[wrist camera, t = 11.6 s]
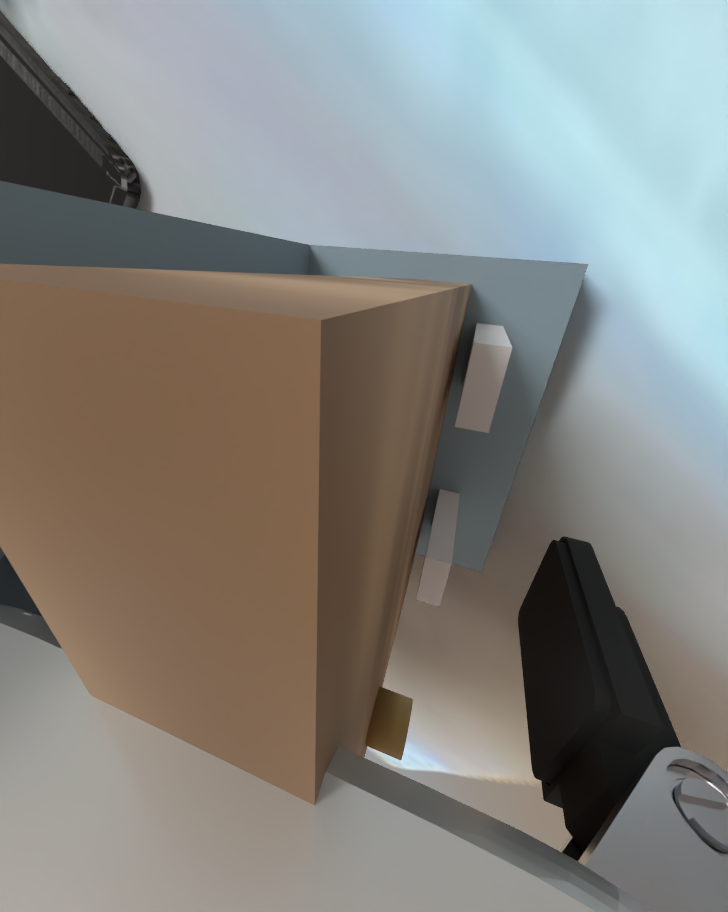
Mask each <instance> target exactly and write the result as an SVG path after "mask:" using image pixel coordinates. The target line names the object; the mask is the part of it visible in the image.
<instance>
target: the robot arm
mask: <svg viewBox="0 0 728 912" xmlns="http://www.w3.org/2000/svg"><path fill="white" fill-rule="evenodd" d="M518 626H519V636H520V647H521V657H522V668H523V679H524V689H525V700H526V711H527V721H528V732H529V743H530V753H531V764H532V771H533V774H534V776H535V778H536V779H539V780H541V781H542V790H543V799H544V801H546V802H549V803H551V804H554V805H556V806H558V807H561V808H563V812H564V819H565V826H566V828H567V830H568V831H569V833H570V835H569V836H568V838H567V839H566V841H565V842H564V843H563V845H562V846H561V848H560V849H559V850H556V849H554V848H552V847H550V846H548V845H546V844H545V843H543V842H541V841H539V840H537V839H535V838H533V837H531V836H529V835H528V834H526V833H524V832H522V831H520V830H518V829H515V828H514V827H512V826H510V825H508V824H505V823H503V822H501V821H499V820H497V819H495V818H493V817H490V816H489V815H486V814H484V813H482V812H480V811H478V810H476V809H474V808H472V807H470V806H467V805H465V804H463V803H461V802H458V801H457V800H455V799H453V798H451V797H448V796H446V795H444V794H442V793H440V792H438V791H436V790H434V789H431V788H429V787H427V786H425V785H423V784H421V783H418V782H416V781H414V780H412V779H410V778H407V777H405V776H403V775H400V774H399V773H396V772H394V771H392V770H390V769H387V768H385V767H383V766H381V765H379V764H376V763H374V762H372V761H370V760H368V759H365V758H363V757H361V756H359V755H357V754H354V753H352V752H350V751H348V750H345V749H343V748H341V747H339V746H338V748H337V750H336V751H335V753H334V755H333V757H332V759H331V762H330V764H329V766H328V768H327V770H326V772H325V775H324V778H323V781H322V785H321V788H320V791H319V794H318V797H317V800H316V803H315V805H313V804H311V803H309V802H306V801H304V800H302V799H300V798H298V797H296V796H294V795H292V794H290V793H288V792H286V791H284V790H282V789H280V788H278V787H276V786H274V785H272V784H270V783H268V782H266V781H264V780H262V779H260V778H258V777H256V776H254V775H252V774H250V773H248V772H246V771H244V770H242V769H240V768H238V767H236V766H234V765H232V764H230V763H228V762H226V761H223V760H221V759H219V758H217V757H215V756H213V755H211V754H209V753H207V752H205V751H203V750H201V749H199V748H197V747H195V746H193V745H191V744H189V743H187V742H185V741H183V740H181V739H179V738H177V737H175V736H173V735H171V734H169V733H167V732H164V731H162V730H160V729H158V728H156V727H154V726H152V725H150V724H148V723H146V722H144V721H142V720H140V719H138V718H136V717H134V716H132V715H130V714H128V713H126V712H124V711H122V710H120V709H118V708H115V707H113V706H111V705H109V704H107V703H105V702H103V701H101V700H99V699H97V698H95V697H93V696H91V695H90V694H89V692H88V690H87V689H86V687H85V685H84V684H83V682H82V680H81V679H80V677H79V675H78V674H77V672H76V670H75V669H74V667H73V665H72V664H71V662H70V661H69V659H68V657H67V656H66V654H65V652H64V651H63V649H62V647H61V646H60V644H59V642H58V641H57V639H56V637H55V636H54V634H53V632H52V631H51V629H50V628H49V626H48V624H47V623H46V621H45V619H44V618H43V616H42V614H41V613H40V611H39V609H38V608H37V606H36V604H35V603H34V601H33V599H32V598H31V596H30V595H29V593H28V591H27V590H26V588H25V586H24V585H23V583H22V581H21V580H20V578H19V576H18V575H17V573H16V571H15V570H14V568H13V566H12V565H11V563H10V562H9V560H8V558H7V557H6V555H4V556H3V557H2V558H1V560H0V912H728V773H727V772H726V771H724V770H723V769H722V768H720V767H719V766H718V765H716V764H715V763H714V762H712V761H711V760H709V759H707V758H705V757H704V756H702V755H700V754H698V753H696V752H694V751H691V750H688V749H684V748H681V746H680V743H679V741H678V738H677V736H676V734H675V731H674V729H673V726H672V724H671V722H670V719H669V717H668V714H667V712H666V710H665V707H664V705H663V702H662V700H661V698H660V695H659V693H658V690H657V688H656V686H655V683H654V681H653V678H652V676H651V674H650V671H649V669H648V666H647V664H646V662H645V659H644V657H643V655H642V652H641V650H640V647H639V645H638V643H637V640H636V638H635V635H634V633H633V631H632V628H631V626H630V623H629V621H628V619H627V617H626V615H625V613H624V611H623V610H622V609H620V608H619V607H616V606H615V603H614V601H613V598H612V596H611V593H610V591H609V588H608V586H607V583H606V581H605V578H604V576H603V573H602V571H601V568H600V565H599V563H598V560H597V558H596V555H595V553H594V550H593V548H592V546H591V544H590V543H588V542H584V541H580V540H576V539H572V538H568V537H562V538H561V539H560V540H559V541H556V540H553V541H552V542H551V543H550V545H549V547H548V549H547V552H546V554H545V556H544V558H543V560H542V562H541V565H540V567H539V569H538V571H537V573H536V575H535V577H534V580H533V582H532V584H531V586H530V588H529V590H528V593H527V595H526V597H525V599H524V601H523V603H522V606H521V608H520V611H519V616H518Z"/></svg>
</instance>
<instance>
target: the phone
mask: <svg viewBox="0 0 728 912" xmlns="http://www.w3.org/2000/svg"><path fill="white" fill-rule="evenodd" d="M0 181H4V182H9V183H14V184H19V185H23V186H28V187H33V188H38V189H43V190H47V191H52V192H57V193H62V194H67V195H71V196H76V197H81V198H86V199H91V200H95V201H100V202H105V203H110V204H115V205H119V206H124V207H129V208H134V209H136V207H137V204H138V201H139V198H140V193H141V190H140V180H139V176H138V173H137V171H136V168H135V166H134V164H133V163H132V161H131V160H130V159H129V157H128V156H127V155H126V154H125V153H124V152H123V150H122V149H121V148H120V147H119V146H118V145H117V144H116V142H115V141H114V140H113V139H112V138H111V136H110V135H109V134H108V133H107V132H106V131H105V130H104V129H103V128H102V127H101V125H100V124H99V123H98V122H97V121H96V120H95V119H94V117H93V116H92V114H91V113H90V112H89V111H88V110H87V109H86V108H85V106H84V105H83V104H82V103H81V102H80V101H79V100H78V99H77V98H76V97H75V96H74V95H73V92H72V91H71V90H70V89H69V88H68V87H67V85H66V84H65V83H64V82H63V81H62V80H61V79H60V78H59V77H58V76H57V75H56V74H55V73H54V72H53V71H52V70H51V69H50V67H49V66H48V65H47V64H46V63H45V62H44V61H43V59H42V58H41V57H40V56H39V55H38V54H37V53H36V51H35V50H34V49H33V48H32V47H31V46H30V45H29V44H28V42H27V41H26V40H25V39H24V38H23V37H22V36H21V34H20V33H19V32H18V31H17V30H16V29H15V28H14V26H13V25H12V24H11V23H10V22H9V21H8V20H7V18H6V17H5V16H4V15H3V14H2V13H1V12H0Z"/></svg>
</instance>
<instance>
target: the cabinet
mask: <svg viewBox="0 0 728 912" xmlns="http://www.w3.org/2000/svg"><path fill="white" fill-rule="evenodd" d="M0 264H21V265H49V266H76V267H104V268H131V269H159V270H186V271H213V272H241V273H268V274H296V275H323V276H351V277H378V278H405V279H419V280H430V281H442V282H453V283H464V284H472V285H471V290H470V295H469V300H468V305H467V309H466V314H465V319H464V324H463V329H462V334H461V338H460V343H459V348H458V353H457V358H456V363H455V367H454V372H453V377H452V382H451V387H450V392H449V397H448V401H447V406H446V411H445V416H444V421H443V426H442V430H441V435H440V440H439V445H438V450H437V455H436V459H435V464H434V469H433V474H432V479H431V484H430V488H429V493H428V498H427V503H426V508H425V513H424V517H423V522H422V527H421V532H420V537H419V541H418V545H417V549H416V553H415V554H418V555H422V556H425V560H424V564H423V569H422V574H421V578H420V583H419V588H418V592H417V597H416V600H418V601H421V602H424V603H428V604H431V605H434V606H437V607H440V604H441V601H442V597H443V593H444V590H445V586H446V583H447V579H448V576H449V572H450V568H451V565H452V564H454V565H457V566H461V567H465V568H468V569H472V570H475V571H479V572H482V570H483V567H484V564H485V561H486V558H487V555H488V552H489V549H490V547H491V544H492V541H493V538H494V535H495V532H496V529H497V526H498V523H499V521H500V518H501V515H502V512H503V509H504V506H505V503H506V500H507V497H508V495H509V492H510V489H511V486H512V483H513V480H514V477H515V474H516V471H517V469H518V466H519V463H520V460H521V457H522V454H523V451H524V448H525V445H526V443H527V440H528V437H529V434H530V431H531V428H532V425H533V422H534V419H535V417H536V414H537V411H538V408H539V405H540V402H541V399H542V396H543V393H544V391H545V388H546V385H547V382H548V379H549V376H550V373H551V370H552V367H553V365H554V362H555V359H556V356H557V353H558V350H559V347H560V344H561V341H562V339H563V336H564V333H565V330H566V327H567V324H568V321H569V318H570V315H571V313H572V310H573V307H574V304H575V301H576V298H577V295H578V292H579V289H580V287H581V284H582V281H583V278H584V275H585V272H586V269H587V266H588V264H579V263H564V262H549V261H535V260H520V259H506V258H491V257H477V256H462V255H447V254H433V253H418V252H404V251H389V250H375V249H360V248H345V247H331V246H316V245H307V244H302V243H297V242H292V241H287V240H283V239H278V238H273V237H268V236H263V235H259V234H254V233H249V232H244V231H239V230H235V229H230V228H225V227H220V226H215V225H211V224H206V223H201V222H196V221H191V220H187V219H182V218H177V217H172V216H167V215H163V214H158V213H153V212H148V211H143V210H139V209H134V208H129V207H124V206H119V205H115V204H110V203H105V202H100V201H95V200H91V199H86V198H81V197H76V196H71V195H67V194H62V193H57V192H52V191H47V190H43V189H38V188H33V187H28V186H23V185H19V184H14V183H9V182H4V181H0ZM4 555H5V553H4V552H3V550H2V548H1V547H0V560H1V558H2V557H3V556H4Z"/></svg>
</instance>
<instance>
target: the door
mask: <svg viewBox="0 0 728 912" xmlns="http://www.w3.org/2000/svg"><path fill="white" fill-rule="evenodd" d="M471 285H472V284H464V283H453V282H442V281H430V280H419V279H405V278H378V277H351V276H323V275H296V274H268V273H241V272H213V271H186V270H159V269H131V268H104V267H76V266H49V265H21V264H0V547H1V548H2V550H3V552H4V553H5V555H6V557H7V558H8V560H9V562H10V563H11V565H12V566H13V568H14V570H15V571H16V573H17V575H18V576H19V578H20V580H21V581H22V583H23V585H24V586H25V588H26V590H27V591H28V593H29V595H30V596H31V598H32V599H33V601H34V603H35V604H36V606H37V608H38V609H39V611H40V613H41V614H42V616H43V618H44V619H45V621H46V623H47V624H48V626H49V628H50V629H51V631H52V632H53V634H54V636H55V637H56V639H57V641H58V642H59V644H60V646H61V647H62V649H63V651H64V652H65V654H66V656H67V657H68V659H69V661H70V662H71V664H72V665H73V667H74V669H75V670H76V672H77V674H78V675H79V677H80V679H81V680H82V682H83V684H84V685H85V687H86V689H87V690H88V692H89V694H90V695H91V696H93V697H95V698H97V699H99V700H101V701H103V702H105V703H107V704H109V705H111V706H113V707H115V708H118V709H120V710H122V711H124V712H126V713H128V714H130V715H132V716H134V717H136V718H138V719H140V720H142V721H144V722H146V723H148V724H150V725H152V726H154V727H156V728H158V729H160V730H162V731H164V732H167V733H169V734H171V735H173V736H175V737H177V738H179V739H181V740H183V741H185V742H187V743H189V744H191V745H193V746H195V747H197V748H199V749H201V750H203V751H205V752H207V753H209V754H211V755H213V756H215V757H217V758H219V759H221V760H223V761H226V762H228V763H230V764H232V765H234V766H236V767H238V768H240V769H242V770H244V771H246V772H248V773H250V774H252V775H254V776H256V777H258V778H260V779H262V780H264V781H266V782H268V783H270V784H272V785H274V786H276V787H278V788H280V789H282V790H284V791H286V792H288V793H290V794H292V795H294V796H296V797H298V798H300V799H302V800H304V801H306V802H309V803H311V804H313V805H315V803H316V800H317V797H318V794H319V791H320V788H321V785H322V781H323V778H324V775H325V772H326V770H327V768H328V766H329V764H330V762H331V759H332V757H333V755H334V753H335V751H336V750H337V748H338V746H339V747H341V748H343V749H345V750H348V751H350V752H352V753H354V754H357V755H359V756H361V757H363V758H364V757H365V753H366V749H367V746H369V747H371V748H373V749H376V750H378V751H380V752H382V753H385V754H387V755H389V756H392V757H394V758H396V759H399V760H401V759H402V755H403V751H404V747H405V742H406V737H407V732H408V727H409V721H410V715H411V709H412V701H413V699H411V698H408V697H406V696H403V695H400V694H398V693H395V692H393V691H390V690H387V689H385V688H382V685H383V681H384V677H385V673H386V669H387V665H388V661H389V657H390V653H391V649H392V645H393V641H394V637H395V633H396V629H397V625H398V621H399V617H400V613H401V609H402V605H403V601H404V597H405V593H406V589H407V585H408V581H409V577H410V573H411V569H412V565H413V561H414V557H415V553H416V549H417V545H418V541H419V537H420V532H421V527H422V522H423V517H424V513H425V508H426V503H427V498H428V493H429V488H430V484H431V479H432V474H433V469H434V464H435V459H436V455H437V450H438V445H439V440H440V435H441V430H442V426H443V421H444V416H445V411H446V406H447V401H448V397H449V392H450V387H451V382H452V377H453V372H454V367H455V363H456V358H457V353H458V348H459V343H460V338H461V334H462V329H463V324H464V319H465V314H466V309H467V305H468V300H469V295H470V290H471Z"/></svg>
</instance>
